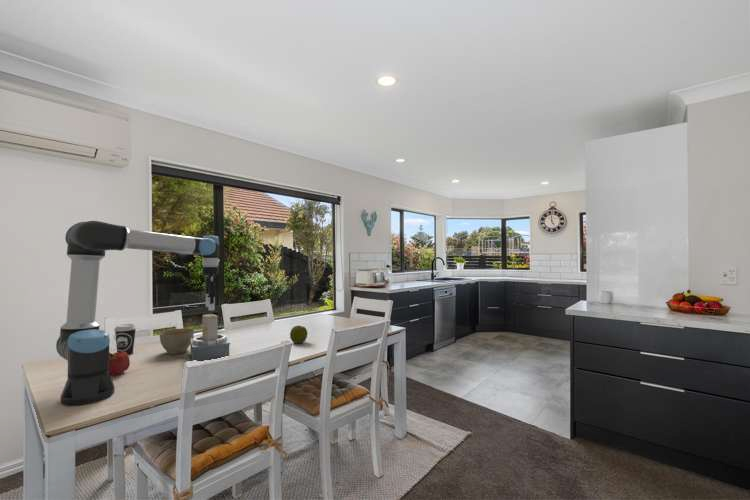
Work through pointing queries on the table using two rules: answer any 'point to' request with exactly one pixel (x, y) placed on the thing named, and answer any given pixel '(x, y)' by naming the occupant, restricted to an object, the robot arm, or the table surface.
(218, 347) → the housing
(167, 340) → the planter bowl
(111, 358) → the vegetable
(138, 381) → the table surface
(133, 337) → the coffee cup
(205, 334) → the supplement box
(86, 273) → the robot arm
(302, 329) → the olive green ball
